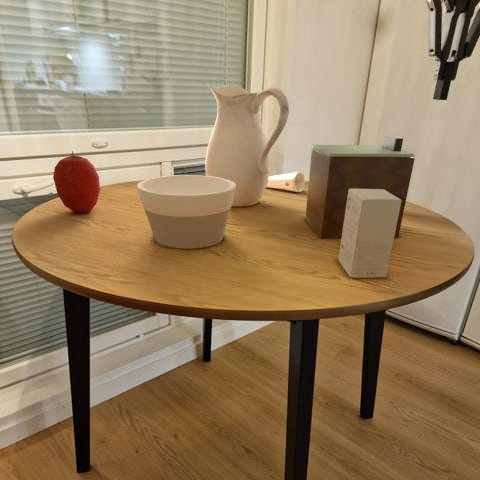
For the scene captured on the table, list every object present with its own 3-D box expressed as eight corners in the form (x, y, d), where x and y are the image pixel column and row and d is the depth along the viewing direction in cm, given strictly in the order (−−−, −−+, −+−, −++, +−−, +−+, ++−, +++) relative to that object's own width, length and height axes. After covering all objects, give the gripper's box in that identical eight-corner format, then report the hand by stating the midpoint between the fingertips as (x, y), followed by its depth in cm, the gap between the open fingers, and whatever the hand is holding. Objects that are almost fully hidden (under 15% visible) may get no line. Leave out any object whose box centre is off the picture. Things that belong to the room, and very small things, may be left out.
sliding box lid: (386, 148, 94) (389, 133, 93) (414, 157, 83) (417, 140, 82) (312, 147, 93) (313, 132, 91) (329, 156, 81) (331, 139, 80)
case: (373, 218, 103) (386, 148, 95) (398, 237, 91) (414, 158, 83) (305, 219, 101) (311, 147, 93) (321, 238, 89) (330, 157, 81)
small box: (386, 278, 71) (403, 199, 65) (349, 278, 71) (362, 199, 64) (371, 260, 78) (384, 188, 72) (337, 260, 78) (347, 187, 71)
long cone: (255, 186, 141) (305, 189, 129) (243, 191, 137) (294, 194, 125) (254, 168, 138) (304, 169, 126) (241, 173, 134) (292, 174, 122)
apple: (58, 208, 106) (47, 148, 99) (100, 205, 109) (92, 147, 102) (61, 219, 97) (48, 155, 91) (106, 215, 101) (97, 153, 94)
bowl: (156, 221, 97) (153, 173, 92) (240, 226, 95) (241, 176, 90) (128, 250, 80) (121, 192, 75) (228, 256, 79) (229, 197, 73)
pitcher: (193, 200, 115) (189, 83, 102) (239, 192, 125) (241, 84, 112) (253, 219, 100) (258, 85, 86) (300, 208, 110) (311, 86, 96)
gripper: (495, -47, 77) (459, 99, 89) (427, -51, 76) (400, 98, 87) (524, -58, 71) (481, 101, 82) (450, -63, 69) (417, 99, 81)
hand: (439, 99), depth 85 cm, fingers closed
